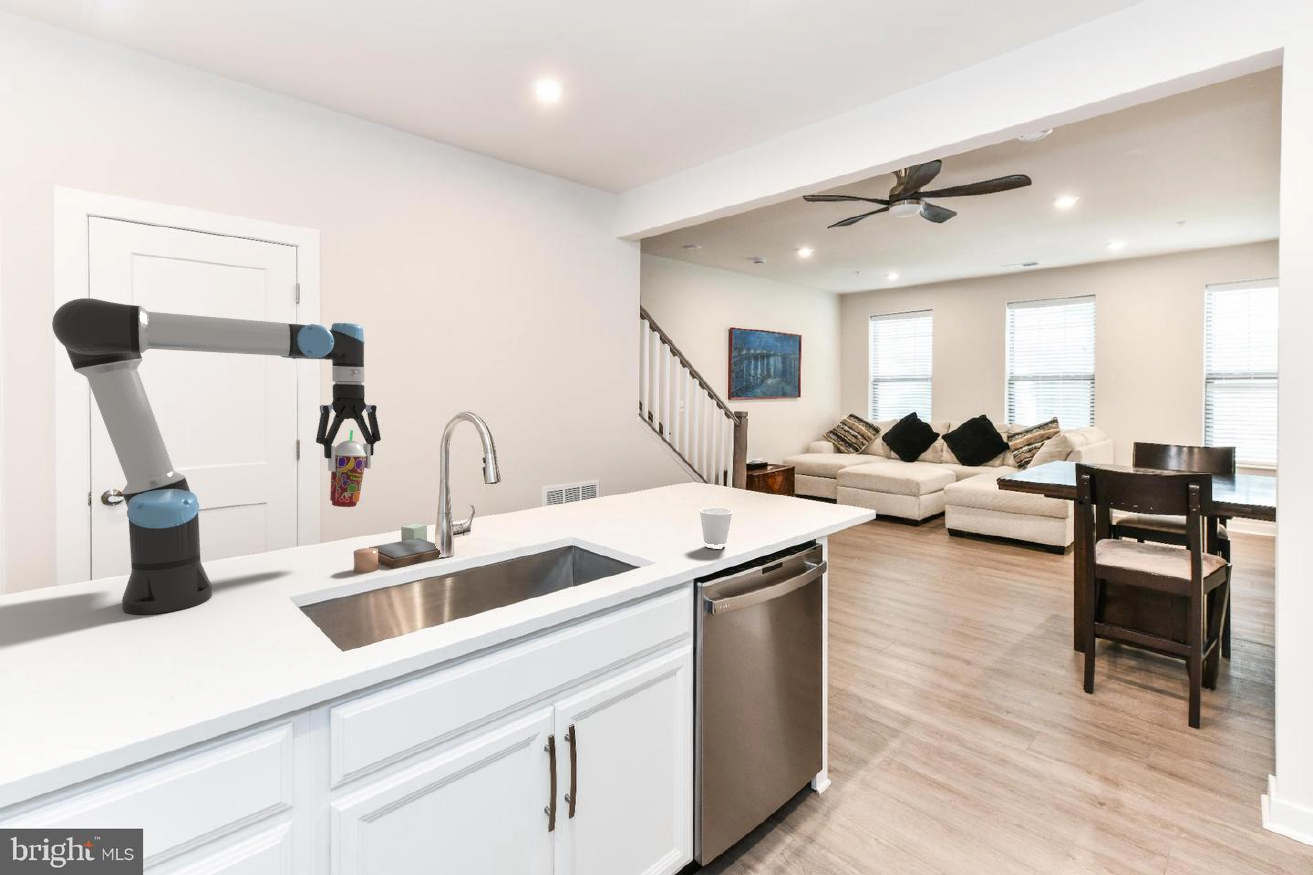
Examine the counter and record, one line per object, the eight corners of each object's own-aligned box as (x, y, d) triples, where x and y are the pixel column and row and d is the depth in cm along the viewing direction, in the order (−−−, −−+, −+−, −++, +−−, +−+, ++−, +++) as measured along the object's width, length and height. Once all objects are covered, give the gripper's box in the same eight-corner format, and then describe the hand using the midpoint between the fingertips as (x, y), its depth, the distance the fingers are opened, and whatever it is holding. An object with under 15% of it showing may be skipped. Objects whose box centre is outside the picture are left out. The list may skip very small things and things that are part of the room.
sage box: (413, 545, 184) (413, 528, 184) (401, 543, 186) (401, 526, 186) (427, 541, 188) (426, 525, 188) (414, 539, 191) (414, 523, 190)
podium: (393, 568, 161) (393, 558, 161) (364, 556, 171) (364, 547, 171) (449, 556, 173) (449, 547, 173) (419, 545, 183) (419, 536, 183)
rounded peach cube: (360, 574, 156) (359, 555, 155) (350, 570, 159) (349, 550, 159) (382, 569, 160) (382, 550, 160) (372, 565, 164) (371, 546, 163)
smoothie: (351, 508, 162) (359, 431, 162) (319, 505, 162) (327, 428, 162) (367, 505, 170) (374, 432, 170) (337, 502, 171) (344, 429, 171)
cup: (692, 544, 189) (693, 508, 188) (720, 541, 193) (721, 506, 192) (708, 553, 180) (709, 515, 179) (738, 550, 184) (739, 513, 184)
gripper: (311, 382, 154) (312, 474, 156) (394, 384, 170) (395, 467, 172) (299, 382, 159) (300, 471, 161) (381, 384, 175) (382, 464, 177)
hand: (349, 469), depth 167 cm, fingers closed on smoothie, 8 cm apart
